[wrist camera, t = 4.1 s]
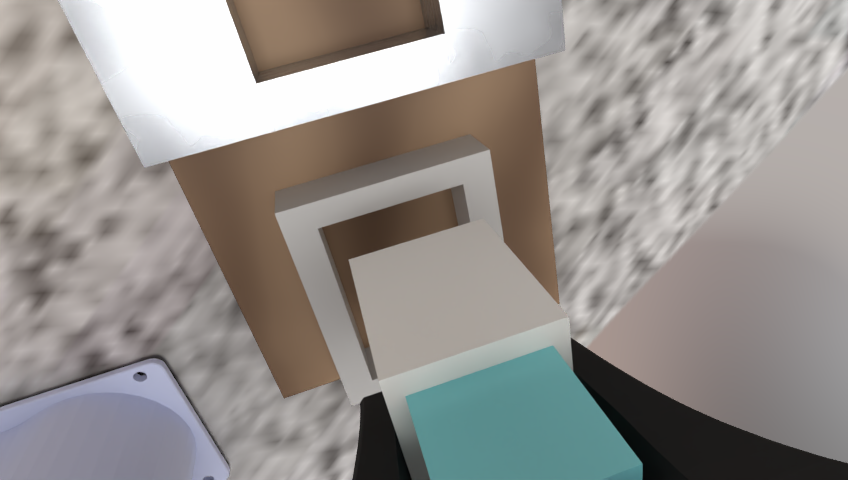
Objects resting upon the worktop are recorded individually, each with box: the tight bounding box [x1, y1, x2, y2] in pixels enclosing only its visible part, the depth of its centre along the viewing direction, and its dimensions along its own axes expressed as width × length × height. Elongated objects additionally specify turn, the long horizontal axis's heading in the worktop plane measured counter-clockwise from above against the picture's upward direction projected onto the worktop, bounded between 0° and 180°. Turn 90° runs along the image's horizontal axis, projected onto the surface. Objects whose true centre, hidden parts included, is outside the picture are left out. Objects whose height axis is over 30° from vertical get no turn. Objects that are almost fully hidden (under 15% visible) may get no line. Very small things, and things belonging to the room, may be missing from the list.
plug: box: [349, 218, 643, 480], centre depth 12 cm, size 4×6×8 cm, turn 12°
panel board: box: [169, 0, 559, 398], centre depth 19 cm, size 14×24×1 cm, turn 12°
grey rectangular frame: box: [275, 134, 504, 406], centre depth 21 cm, size 8×10×2 cm
